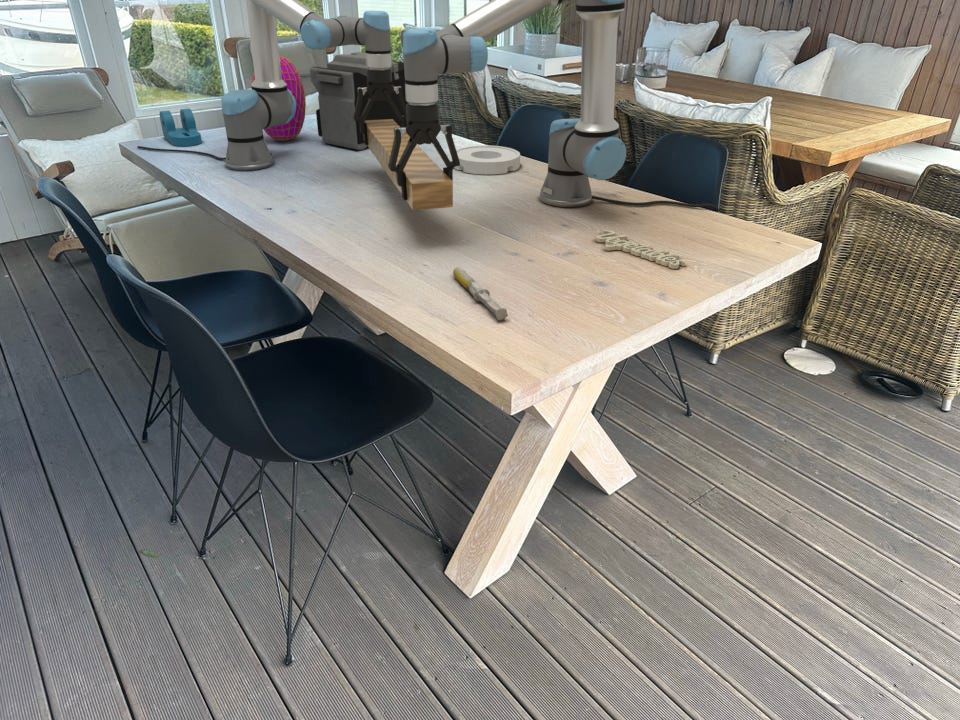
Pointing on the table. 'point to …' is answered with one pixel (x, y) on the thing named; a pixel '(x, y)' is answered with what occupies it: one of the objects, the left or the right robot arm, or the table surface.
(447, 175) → the right robot arm
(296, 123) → the decorative egg
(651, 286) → the table surface
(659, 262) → the decorative sign
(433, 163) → the wooden beam
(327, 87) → the electronic device
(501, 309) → the syringe
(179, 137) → the camera mount
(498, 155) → the ashtray
